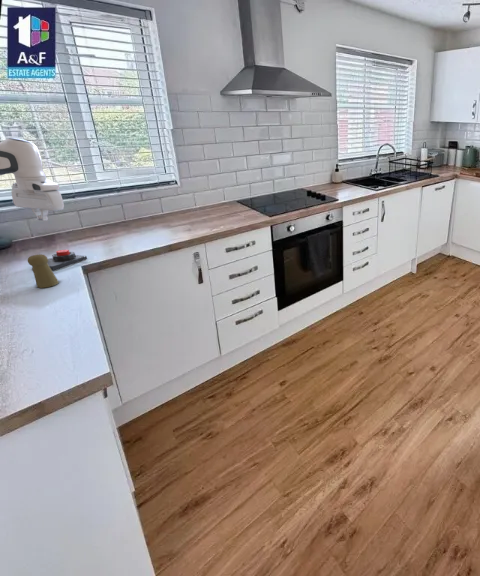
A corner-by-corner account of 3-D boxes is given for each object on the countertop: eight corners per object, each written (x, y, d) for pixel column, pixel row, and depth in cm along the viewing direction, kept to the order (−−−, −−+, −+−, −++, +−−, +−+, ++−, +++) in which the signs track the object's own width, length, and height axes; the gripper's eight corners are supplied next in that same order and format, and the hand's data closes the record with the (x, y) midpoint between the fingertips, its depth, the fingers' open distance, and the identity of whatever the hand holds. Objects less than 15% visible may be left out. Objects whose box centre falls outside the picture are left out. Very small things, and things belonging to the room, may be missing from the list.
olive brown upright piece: (46, 288, 129) (34, 259, 124) (32, 287, 130) (19, 257, 125) (63, 281, 134) (51, 253, 130) (49, 280, 135) (37, 252, 131)
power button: (62, 256, 147) (61, 252, 146) (54, 256, 148) (53, 251, 147) (72, 254, 151) (71, 250, 150) (64, 253, 151) (63, 249, 151)
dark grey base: (54, 274, 142) (50, 261, 140) (33, 271, 144) (29, 259, 142) (88, 263, 155) (85, 251, 153) (68, 260, 156) (65, 249, 155)
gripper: (1, 182, 140) (13, 219, 145) (45, 186, 136) (55, 224, 141) (20, 181, 145) (30, 216, 150) (62, 185, 142) (71, 221, 147)
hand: (43, 220), depth 146 cm, fingers closed
